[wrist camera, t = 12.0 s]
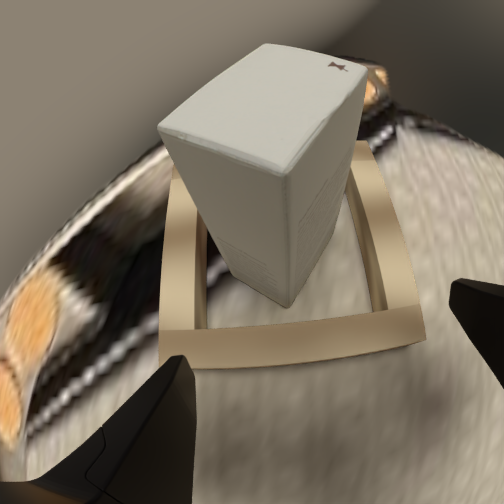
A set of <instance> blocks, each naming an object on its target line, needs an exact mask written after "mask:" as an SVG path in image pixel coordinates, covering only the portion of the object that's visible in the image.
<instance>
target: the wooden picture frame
mask: <svg viewBox="0 0 504 504" xmlns="http://www.w3.org/2000/svg"><path fill="white" fill-rule="evenodd" d="M345 192H346V195H347V198H348V202H349V206H350V209H351V213H352V217H353V220H354V224H355V228H356V232H357V236H358V240H359V244H360V249H361V253H362V257H363V262H364V266H365V271H366V276H367V281H368V286H369V291H370V297H371V302H372V308H373V312H372V313H365V314H359V315H352V316H345V317H338V318H330V319H322V320H314V321H305V322H296V323H286V324H276V325H264V326H251V327H237V328H219V329H207V299H206V269H207V227H206V225H205V223H204V221H203V219H202V217H201V215H200V213H199V211H198V209H197V208H196V206H195V204H194V202H193V200H192V198H191V196H190V194H189V192H188V190H187V188H186V186H185V184H184V182H183V180H182V178H181V176H180V174H179V172H178V170H177V168H176V166H175V164H174V166H173V172H172V179H171V186H170V193H169V201H168V209H167V217H166V226H165V236H164V247H163V259H162V272H161V288H160V310H159V367H161V366H162V365H163V364H164V363H165V362H166V361H167V360H168V359H169V358H170V357H171V356H175V355H185V357H186V358H187V360H188V362H189V365H190V367H191V369H241V368H259V367H273V366H285V365H295V364H304V363H313V362H321V361H328V360H335V359H341V358H348V357H354V356H360V355H365V354H370V353H376V352H381V351H386V350H390V349H395V348H399V347H404V346H408V345H411V344H414V343H418V342H421V341H424V340H426V334H425V327H424V322H423V316H422V311H421V306H420V301H419V296H418V291H417V287H416V283H415V278H414V274H413V270H412V266H411V263H410V259H409V255H408V252H407V248H406V245H405V241H404V238H403V235H402V231H401V228H400V225H399V222H398V219H397V216H396V213H395V210H394V207H393V204H392V202H391V199H390V196H389V193H388V191H387V188H386V186H385V183H384V180H383V178H382V175H381V173H380V170H379V168H378V166H377V163H376V161H375V159H374V156H373V154H372V152H371V149H370V147H369V145H368V143H367V141H356V143H355V148H354V152H353V157H352V161H351V166H350V170H349V174H348V178H347V182H346V187H345Z"/></svg>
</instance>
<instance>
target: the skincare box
mask: <svg viewBox="0 0 504 504" xmlns="http://www.w3.org/2000/svg"><path fill="white" fill-rule="evenodd" d="M367 76H368V69H367V68H366V67H364V66H362V65H359V64H356V63H353V62H350V61H347V60H343V59H340V58H336V57H332V56H329V55H325V54H321V53H317V52H313V51H308V50H304V49H299V48H295V47H289V46H283V45H275V44H263V45H262V46H260V47H259V48H257V49H256V50H254V51H253V52H251V53H250V54H248V55H247V56H245V57H244V58H243V59H241V60H240V61H238V62H237V63H235V64H234V65H232V66H231V67H230V68H228V69H227V70H225V71H224V72H222V73H221V74H220V75H218V76H217V77H216V78H214V79H213V80H211V81H210V82H209V83H207V84H206V85H205V86H203V87H202V88H201V89H200V90H199V91H197V92H196V93H195V94H193V95H192V96H191V97H190V98H188V99H187V100H186V101H185V102H184V103H182V104H181V105H180V106H179V107H178V108H177V109H175V110H174V111H173V112H172V113H171V114H170V115H169V116H167V117H166V118H165V119H164V120H163V121H161V122H160V123H159V124H158V127H157V128H158V132H159V134H160V136H161V138H162V140H163V142H164V144H165V147H166V149H167V151H168V153H169V155H170V156H171V158H172V160H173V162H174V164H175V166H176V168H177V170H178V172H179V174H180V176H181V178H182V180H183V182H184V184H185V186H186V188H187V190H188V192H189V194H190V196H191V198H192V200H193V202H194V204H195V206H196V208H197V209H198V211H199V213H200V215H201V217H202V219H203V221H204V223H205V225H206V227H207V229H208V231H209V232H210V234H211V236H212V238H213V240H214V242H215V244H216V246H217V247H218V249H219V251H220V253H221V255H222V257H223V259H224V261H225V263H226V264H227V266H228V268H229V270H230V272H231V274H232V275H233V276H234V277H235V278H237V279H239V280H240V281H242V282H244V283H246V284H247V285H249V286H251V287H252V288H254V289H255V290H257V291H259V292H260V293H262V294H264V295H265V296H267V297H269V298H270V299H272V300H274V301H275V302H277V303H279V304H280V305H282V306H284V307H286V308H289V307H290V306H291V304H292V303H293V301H294V299H295V298H296V296H297V295H298V293H299V291H300V290H301V288H302V286H303V285H304V283H305V281H306V280H307V278H308V276H309V275H310V273H311V271H312V269H313V268H314V266H315V264H316V263H317V261H318V259H319V257H320V256H321V254H322V252H323V250H324V249H325V247H326V245H327V243H328V241H329V240H330V238H331V236H332V234H333V232H334V229H335V225H336V222H337V218H338V214H339V211H340V207H341V203H342V199H343V195H344V191H345V187H346V182H347V178H348V174H349V170H350V166H351V161H352V157H353V152H354V148H355V143H356V138H357V134H358V128H359V124H360V119H361V115H362V110H363V104H364V98H365V92H366V84H367Z"/></svg>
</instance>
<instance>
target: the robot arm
mask: <svg viewBox="0 0 504 504" xmlns="http://www.w3.org/2000/svg"><path fill="white" fill-rule="evenodd" d="M449 307H450V309H451V311H452V312H453V314H454V315H455V317H456V318H457V320H458V321H459V323H460V325H461V326H462V328H463V329H464V331H465V333H466V334H467V336H468V338H469V339H470V340H471V342H472V343H473V345H474V346H475V347H476V349H477V350H478V352H479V353H480V354H481V356H482V357H483V359H484V360H485V361H486V363H487V364H488V366H489V367H490V369H491V370H492V372H493V373H494V375H495V376H496V378H497V379H498V381H499V382H500V384H501V386H502V387H503V389H504V286H503V285H498V284H492V283H487V282H481V281H475V280H470V279H464V278H460V279H457V280H455V281H453V282H452V284H451V289H450V297H449ZM196 428H197V412H196V386H195V376H194V373H193V371H192V369H191V367H190V365H189V362H188V360H187V358H186V357H185V355H175V356H171V357H170V358H169V359H168V360H167V361H166V362H165V363H164V364H163V365H162V366H161V367H160V368H159V369H158V370H157V371H156V372H155V373H154V374H153V375H152V376H151V377H150V378H149V379H148V380H147V381H146V382H145V383H144V384H143V385H142V386H141V387H140V388H139V389H138V390H137V391H136V392H135V393H134V394H133V395H132V396H131V397H130V398H129V399H128V400H127V401H126V402H125V403H124V404H123V405H122V406H121V407H120V408H119V409H118V410H117V411H116V412H115V413H114V414H113V415H112V416H111V417H110V418H109V419H108V420H107V421H106V422H105V423H104V424H103V425H102V427H100V428H99V429H98V430H97V431H96V432H95V433H94V434H93V435H92V436H90V437H89V438H88V439H87V440H86V441H85V442H84V443H83V444H82V445H81V446H79V447H78V448H77V449H76V450H75V451H73V452H72V453H71V454H70V455H69V456H67V457H66V458H65V459H63V460H62V461H61V462H60V463H58V464H57V465H56V466H54V467H53V468H52V469H51V470H49V471H48V472H47V473H45V474H44V475H42V476H41V477H39V478H37V479H34V480H31V481H25V482H0V504H192V489H193V471H194V455H195V441H196Z"/></svg>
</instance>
